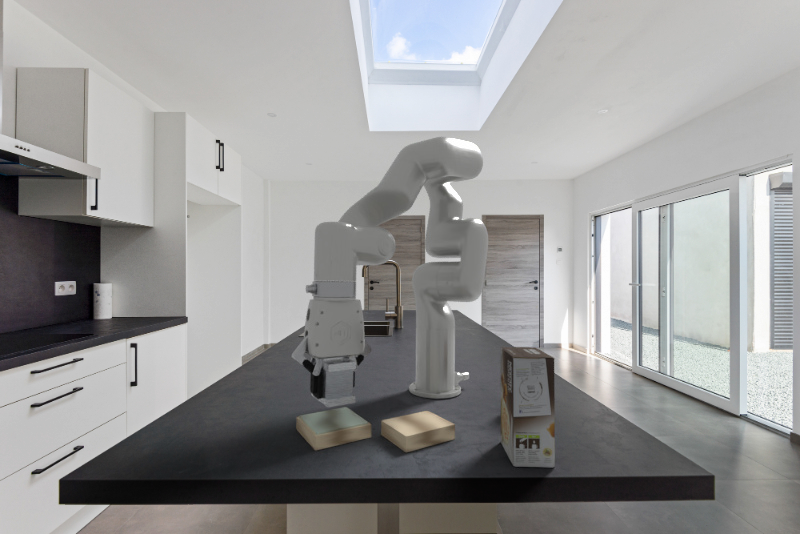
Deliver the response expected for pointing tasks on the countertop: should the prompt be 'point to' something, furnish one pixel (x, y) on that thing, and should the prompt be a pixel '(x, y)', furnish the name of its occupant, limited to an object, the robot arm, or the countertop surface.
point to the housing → (337, 381)
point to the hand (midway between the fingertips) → (332, 393)
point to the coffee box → (527, 406)
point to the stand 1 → (332, 428)
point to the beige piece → (417, 430)
